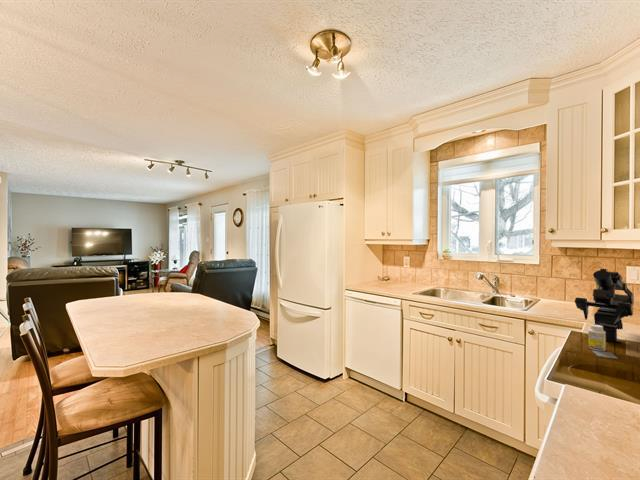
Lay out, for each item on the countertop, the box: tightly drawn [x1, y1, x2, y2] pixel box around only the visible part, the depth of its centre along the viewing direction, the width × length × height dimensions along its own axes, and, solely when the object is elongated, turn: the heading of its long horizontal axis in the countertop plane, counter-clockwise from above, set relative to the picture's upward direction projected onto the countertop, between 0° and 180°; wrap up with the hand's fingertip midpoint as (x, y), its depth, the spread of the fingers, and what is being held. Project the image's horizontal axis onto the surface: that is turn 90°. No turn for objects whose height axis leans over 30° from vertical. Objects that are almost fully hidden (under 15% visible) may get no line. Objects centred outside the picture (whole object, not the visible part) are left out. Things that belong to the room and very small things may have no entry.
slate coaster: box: [591, 349, 619, 360], centre depth 123 cm, size 6×6×1 cm
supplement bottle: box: [587, 323, 607, 352], centre depth 129 cm, size 6×6×10 cm
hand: (599, 321), depth 132 cm, fingers open, 9 cm apart
